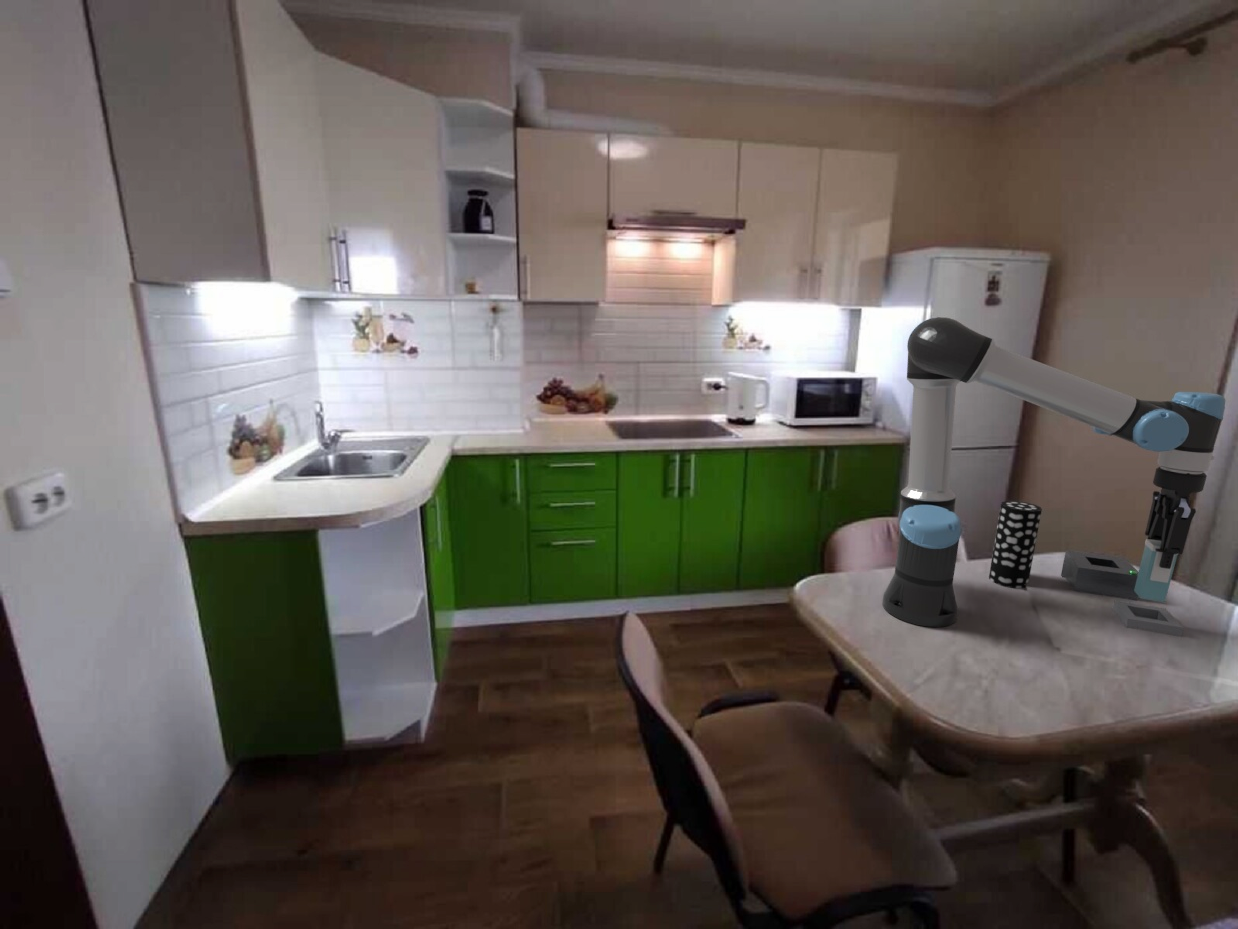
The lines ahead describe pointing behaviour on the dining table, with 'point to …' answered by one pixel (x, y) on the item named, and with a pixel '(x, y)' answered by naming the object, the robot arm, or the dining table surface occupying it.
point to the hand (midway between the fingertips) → (1154, 576)
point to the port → (1100, 574)
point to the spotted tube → (1014, 543)
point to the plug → (1144, 584)
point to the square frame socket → (1147, 618)
